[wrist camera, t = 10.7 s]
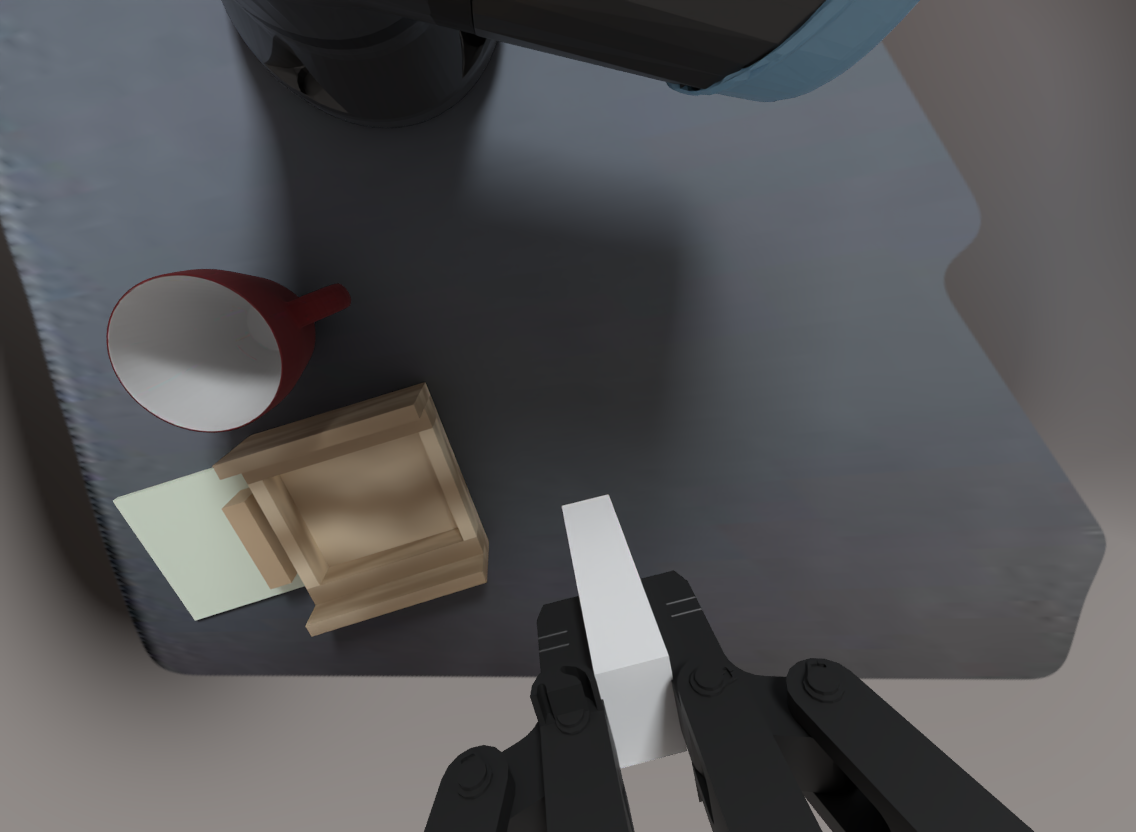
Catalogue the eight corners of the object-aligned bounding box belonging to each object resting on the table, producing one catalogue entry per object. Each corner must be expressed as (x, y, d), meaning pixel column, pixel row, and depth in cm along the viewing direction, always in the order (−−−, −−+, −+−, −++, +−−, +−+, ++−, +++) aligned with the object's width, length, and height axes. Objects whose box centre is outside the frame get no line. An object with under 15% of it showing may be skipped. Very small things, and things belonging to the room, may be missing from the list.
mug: (319, 215, 34) (248, 210, 24) (396, 325, 36) (358, 358, 27) (184, 301, 34) (65, 328, 25) (269, 402, 37) (190, 460, 28)
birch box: (249, 435, 38) (212, 466, 33) (425, 381, 38) (413, 404, 33) (333, 590, 43) (311, 636, 38) (488, 542, 43) (486, 582, 38)
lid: (122, 494, 39) (84, 520, 35) (253, 453, 39) (228, 475, 35) (201, 611, 43) (175, 646, 39) (321, 574, 43) (304, 605, 39)
